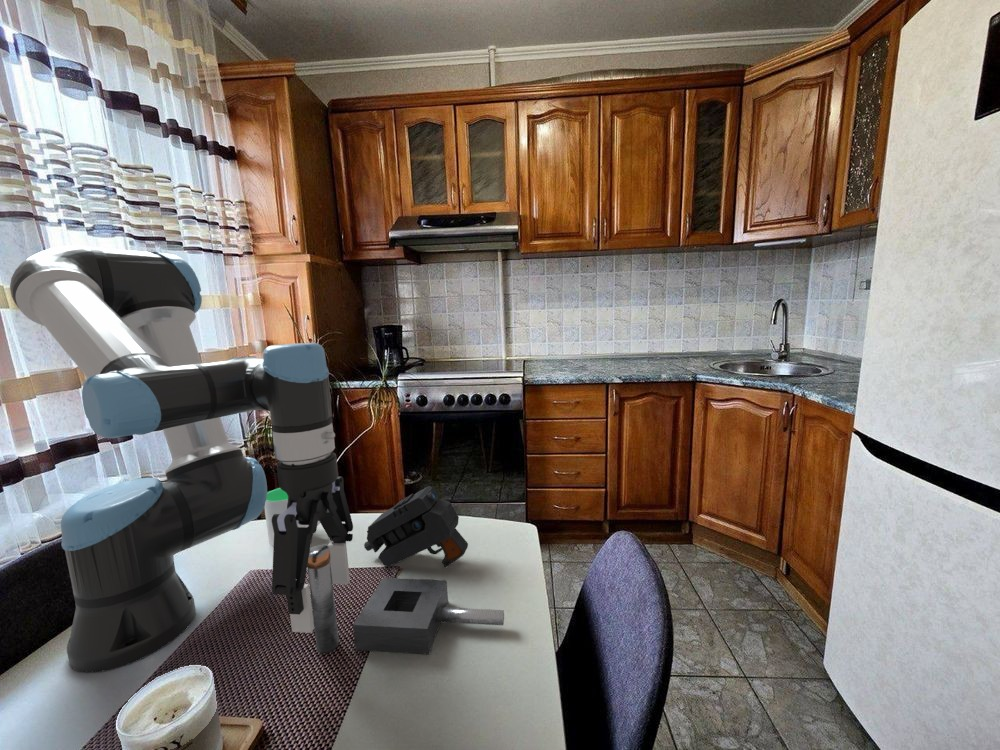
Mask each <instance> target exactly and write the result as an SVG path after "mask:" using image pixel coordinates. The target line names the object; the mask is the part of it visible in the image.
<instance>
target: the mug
mask: <svg viewBox="0 0 1000 750" xmlns="http://www.w3.org/2000/svg"><path fill="white" fill-rule="evenodd" d="M287 504H288V495H287V493H286V492H285V491H283V490H282V489H281V488H280V487H277V488H275V489H273V490H269V491H267V499H266V502H265V507H264V514H265V523H266V530H267V538H268V544H269V546H271V547H273V548H274V530H273V526H272V517H273V515H274V514H282V513H283V512H284V511H286V510H287ZM320 524H321V523H320V521H318V523H317V527H318V526H319V525H320ZM297 526H298V527H306V528H307V527H308V526H309V525H300V524H299V523H298V525H297Z"/></svg>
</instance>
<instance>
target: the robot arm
mask: <svg viewBox="0 0 1000 750" xmlns="http://www.w3.org/2000/svg"><path fill="white" fill-rule="evenodd" d="M9 289H10V295H11V299H12V300H13V302H14V304H15V305H16V307H17V308H18V309H19V310H20V311H21V313H22V314H23V315H24V316H25V317H26V318H28V319H29V320H31V321H32V322H34V323H36V324H38V325H41V326H44V327H45V328H46V330H47V331H48V332H49V333H50V335H51V336H52V337H53V338H54V339H55V341H56V342H57V343H58V344H59V346H60V347H61V348H62V349H63V350H64V352H65V353H66V354H67V355H68V356H69V358H70V359H71V360H72V361H73V363H74V364H75V365H76V366H77V367H78V369H80V371H81V372H82V373H83V374H84V376H85V377H86V378H87V379H86V380H84V383H83V385H82V389H81V399H82V400H81V401H82V407H83V411H84V414H85V417H86V419H87V421H88V423H89V426H90V428H91V430H92V431H93V432H94V433H95V434H96V435H98V436H99V437H102V438H104V439H116V438H121V437H122V438H123V437H129V436H135V435H139V436H140V435H141V436H142V435H146V434H151V433H153V432H157V431H158V432H159V431H161V430H162V431H163V434H164V437H165V440H166V444H167V447H168V450H169V454H170V456H171V458H172V460H171V463H170V464H169V465H168V467H167V468H166V470H165V471H164V472H165V473H164V474H165V476H166V480H167V481H166V482H161V481H160V479H158V478H157V477H139V478H136V479H133V480H126V481H122V482H119V483H116V484H113V485H110V486H107V487H104V488H101V489H99V490H97V491H95V492H92V493H90V494H88V495H86V496H84V497H83V498H81V499H79V500H77V501H76V502H74V504H73V505H71V506H70V507H68V508H67V510H66V511H65V512H64V513H63V515H62V517H61V519H60V529H61V530H60V531H61V549H63V550H64V553H65V558H66V563H67V567H68V572H69V577H70V582H71V583H70V584H71V588H72V593H73V597H74V602H75V611H74V616H73V621H72V625H71V631H70V637H69V639H68V642H67V645H66V653H67V660H68V664H69V666H70V668H71V669H72V670H74V671H76V672H79V673H86V674H89V673H101V672H106V671H111V670H115V669H118V668H122V667H123V666H124V667H125V666H127V665H130V664H133V663H134V662H137V661H140V660H142V659H144V658H146V657H148V656H149V655H152V654H154V653H156V652H157V651H159V650H161V649H162V648H164V647H166V646H167V645H169V644H170V643H172V642H173V641H174V640H175V639H177V638H178V637H179V636H180V635H182V634H183V633H184V632H185V631H186V630H187V629H188V628H189V626H190V625H191V624H192V623H193V621H194V619H195V616H196V614H197V611H196V603H195V598H194V595H192V593H191V592H190V591H189V588H188V587H187V585H186V583H185V582H184V581H183V580H182V578H181V577H180V576H179V574H178V573H177V571H176V566H175V560H174V556H175V555H176V554H178V553H181V552H182V551H185V550H188V549H191V548H192V547H194V546H197V545H200V544H203V543H204V542H208V541H209V540H212V539H214V538H217V537H218V536H221V535H223V534H225V533H228V532H231V531H235V530H237V529H240V528H241V527H242V526H244V525H246V524H248V523H250V522H252V521H254V520H256V519H257V518H258V517H260V515H261V514H262V513H263V511H264V510H265V508H264V507H265V502H266V499H267V493H268V485H267V483H268V482H267V478H266V477H267V476H266V474H265V470H264V469H263V467H262V465H261V464H259V460H257V459H256V458H254V457H249V456H247V457H244V454H243V451H242V448H241V447H239V446H236V445H234V444H231V443H230V442H229V439H228V437H227V433H226V431H225V427H224V425H223V422H222V419H221V418H222V417H228V416H232V415H238V414H241V413H246V412H251V411H267V412H269V414H270V421H271V432H272V433H271V434H272V441H273V442H272V443H273V452H274V458H275V459H276V460H277V461H278V462H277V463H276V470H277V471H276V473H277V480H278V488H281V489H282V490H283V491H285V492H286V493H287V495H288V504H287V510H286V511H284V512H283V513H282V514H274V515H273V517H272V526H273V530H274V547H273V553H272V573H271V574H272V576H271V594H272V595H275V596H276V595H280V596H285V597H286V604H287V612H288V614H289V617H290V619H289V620H290V625H291V632H292V633H307V634H308V633H309V634H312V632H313V631H315V628H314V619H313V610H312V602H311V593H310V585H309V583H305V582H306V576H307V572H308V568H307V565H308V558H309V552H310V548H311V547H312V546H311V545H312V538H313V535H314V534H315V533H316V532H317V530H318V526H317V523H318V521H320V524H321V526H322V528H323V530H324V532H325V533H326V535H327V537H328V539H329V540H330V541H331V542H329V543H328V544H327V545H326V546H328V547H329V549H330V557H331V561H330V565H331V574H332V583H333V585H342V586H343V585H346V586H348V585H349V584H350V582H351V579H350V568H349V559H348V551H347V550H348V548H347V542H352V540H353V537H354V536H353V535H354V534H353V533H349V532H353V529H354V524H353V520H352V515H351V512H350V508H349V505H348V501H347V498H346V497H347V496H346V493H345V487H344V486H345V485H344V484H345V483H344V477H343V476H339V471H338V470H339V469H338V460H337V454H336V453H335V452H334V450H335V449H336V446H335V445H336V444H335V437H336V433H335V432H334V427H333V412H332V403H331V402H332V400H331V390H330V388H331V387H330V378H329V375H330V371H329V368H328V365H327V360H326V353H325V348H324V347H323V346H322V345H321V344H319V343H317V342H306V343H303V342H302V343H301V342H299V343H298V342H297V343H284V344H283V343H282V344H273V345H268V346H267V347H265V348H264V350H263V356H262V357H258V356H257V357H256V356H251V355H250V356H244V357H243V356H240V357H236V358H232V359H231V358H230V359H229V360H222V361H213V362H203V363H202V359H201V355H200V354H199V351H198V348H197V345H196V342H195V339H194V337H193V334H192V330H191V328H190V326H191V324H192V323H194V321H195V320H196V317H197V316H196V315H197V314H196V313H197V312H199V310H200V308H201V306H202V302H203V300H202V297H203V296H202V295H201V291H202V289H201V283H200V281H199V278H198V276H197V274H196V272H195V271H194V269H193V268H192V266H191V265H190V264H189V263H188V262H187V261H186V260H185V259H184V258H181V257H179V256H178V255H176V254H172V253H171V254H170V253H163V252H159V251H157V250H148V251H147V250H146V251H142V250H141V251H139V250H129V249H128V250H127V249H118V248H116V249H115V248H104V247H92V246H84V245H64V246H58V247H51V248H47V249H45V250H42V251H40V252H37V253H34V254H33V255H31V256H29V257H28V258H26V259H25V260H24V261H23V262H21V263H20V264H19V265H18V266H17V267H16V268H15V270H14V271H13V274H12V276H11V278H10V284H9ZM298 523H299V524H300V525H309V526H308V527H307V528H306V527H298V526H297V525H298Z"/></svg>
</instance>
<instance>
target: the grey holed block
mask: <svg viewBox="0 0 1000 750" xmlns="http://www.w3.org/2000/svg"><path fill="white" fill-rule="evenodd" d="M448 593H449V592H448V580H447V579H424V578H423V579H422V578H399V577H397V578H396V577H383V578H382V579H381V580H380V582H379V584H378V585H377V587H376V588H375V589H374V591H373V592H372V595H371V596H370V597H369V599H368V601H367V602H366V604H365V605H364V606H363V608H362V610H361V612H360V613H359V615H358V616H357V618H356V619H355V621H354V623H352V630H353V631H352V632H353V639H354V640H353V641H354V649H355V651H368V652H382V653H395V654H396V653H398V654H411V655H426V656H427V655H429V656H430V653H431V651H432V647H433V645H434V642H435V640H436V637H437V634H438V631H439V629H440V626H441V624H442V623H446V624H447V623H451V624H469V625H470V624H471V625H485V626H486V625H490V626H504V623H505V610H504V609H490V608H489V609H486V608H485V609H484V608H467V607H466V608H465V607H448V605H449V594H448Z"/></svg>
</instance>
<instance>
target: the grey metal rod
mask: <svg viewBox="0 0 1000 750" xmlns="http://www.w3.org/2000/svg"><path fill="white" fill-rule="evenodd" d="M330 561H331V557H330V549H329V547H328V546H327V545H325V544H319V545H315V546H311V547H310V552H309V558H308V565H307V575H308V576H307V577H308V582H309V583H308V584H309V588H310V597H311V605H312V614H313V622H314V634H315V635H314V636H315V643H316V650H317V652H318V654H324V655H325V654H329V653H331V652H333V651H335V650H336V649H337V648H338V647H339V644H340V639H339V631H338V621H337V612H336V604H335V603H336V602H335V593H334V592H335V591H334V584H333V583H332V574H331V565H330Z"/></svg>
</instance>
